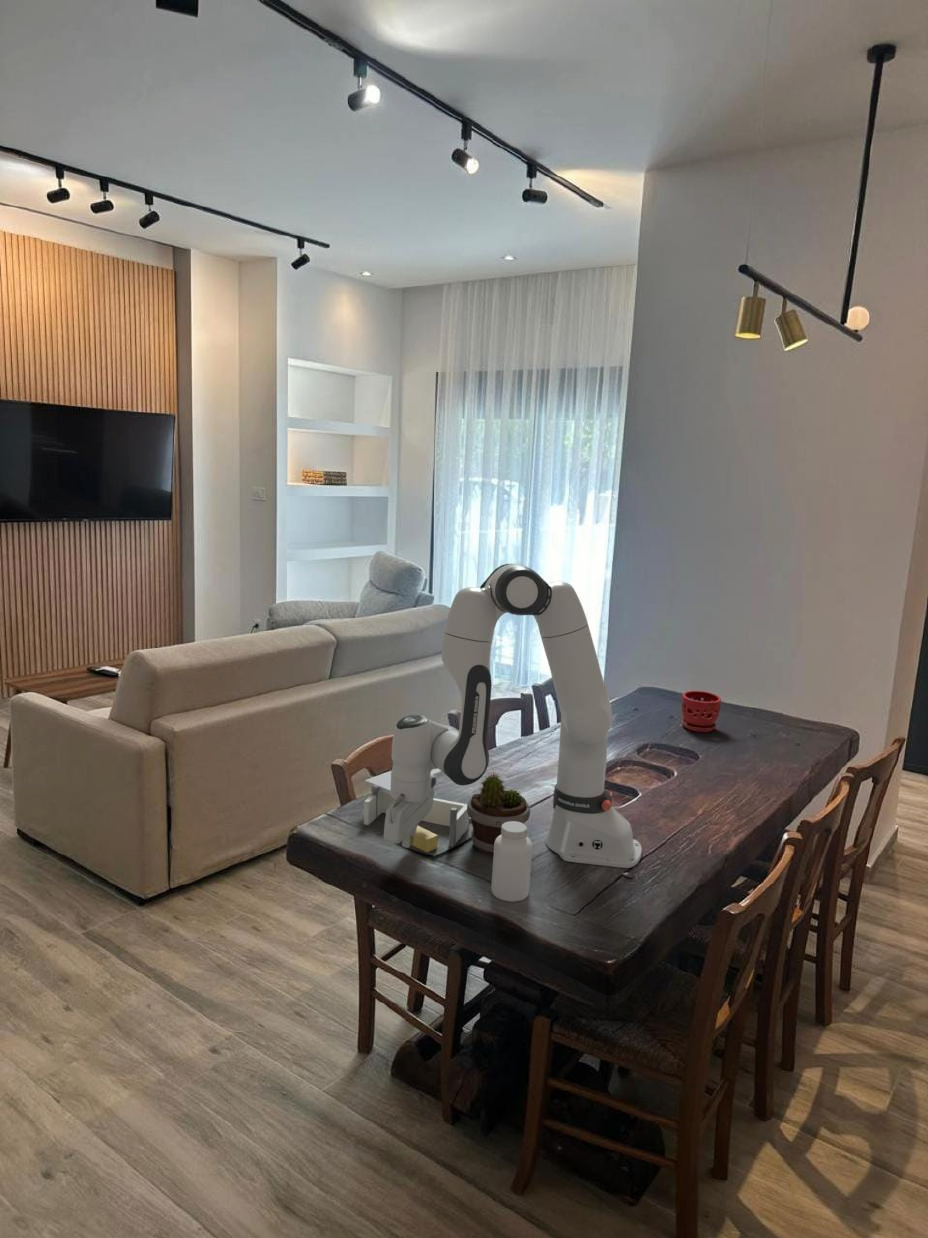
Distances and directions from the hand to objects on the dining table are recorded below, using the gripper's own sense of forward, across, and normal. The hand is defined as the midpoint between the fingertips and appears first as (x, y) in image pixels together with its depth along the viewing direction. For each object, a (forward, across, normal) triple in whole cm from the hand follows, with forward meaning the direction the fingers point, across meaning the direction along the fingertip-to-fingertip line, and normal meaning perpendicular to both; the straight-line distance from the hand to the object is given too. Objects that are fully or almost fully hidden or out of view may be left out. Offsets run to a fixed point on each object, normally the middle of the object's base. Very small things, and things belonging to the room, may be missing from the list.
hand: (408, 844), depth 188 cm
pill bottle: (+2, -7, -26) cm, 27 cm away
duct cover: (-5, +24, +11) cm, 27 cm away
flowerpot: (+2, +12, -17) cm, 21 cm away
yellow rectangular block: (+2, +6, 0) cm, 6 cm away
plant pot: (+2, +129, -56) cm, 140 cm away
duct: (+2, +14, +4) cm, 14 cm away
